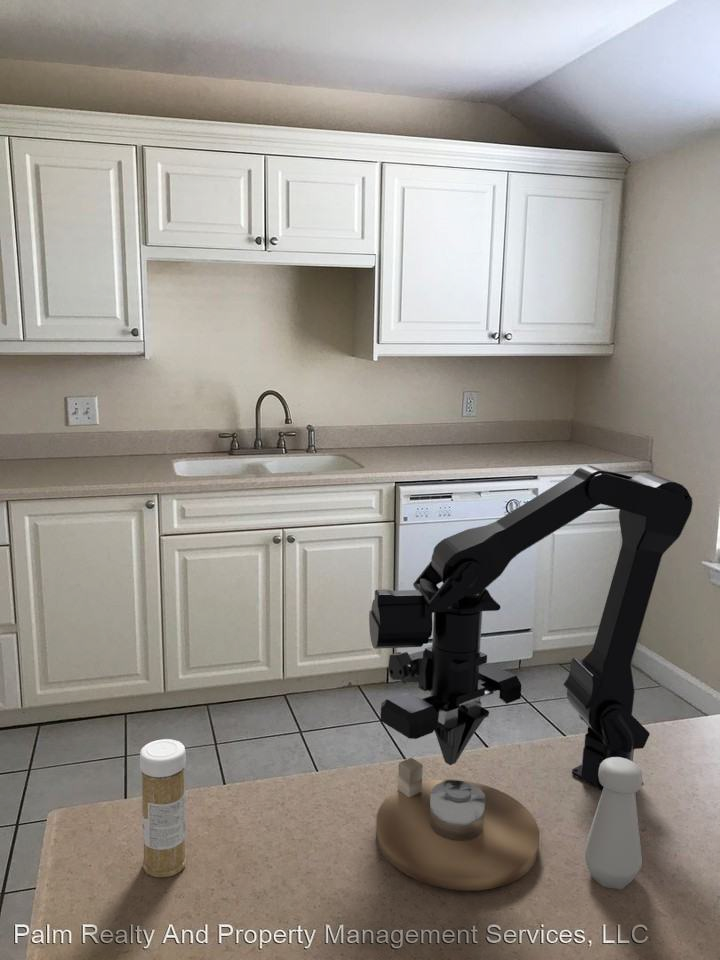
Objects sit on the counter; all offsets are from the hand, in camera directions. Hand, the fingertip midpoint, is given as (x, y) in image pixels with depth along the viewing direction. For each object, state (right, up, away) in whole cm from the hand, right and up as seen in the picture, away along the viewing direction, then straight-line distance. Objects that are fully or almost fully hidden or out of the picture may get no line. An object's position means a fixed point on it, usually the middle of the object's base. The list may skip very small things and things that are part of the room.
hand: (450, 763), depth 102 cm
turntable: (0, -5, -9) cm, 11 cm away
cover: (0, -3, -10) cm, 11 cm away
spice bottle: (-32, -6, -15) cm, 35 cm away
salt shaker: (+15, -7, -15) cm, 22 cm away
